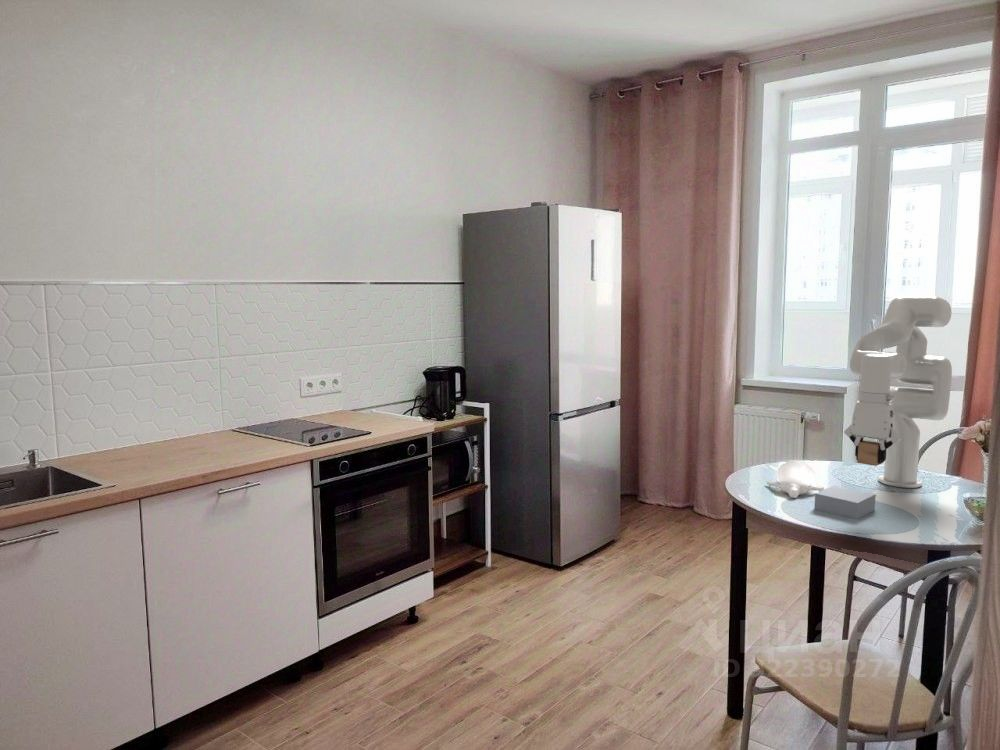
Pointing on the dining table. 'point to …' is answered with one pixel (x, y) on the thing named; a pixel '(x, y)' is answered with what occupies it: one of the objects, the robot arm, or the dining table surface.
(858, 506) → the plinth
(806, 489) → the figurine
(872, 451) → the walnut block
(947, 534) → the dining table surface
